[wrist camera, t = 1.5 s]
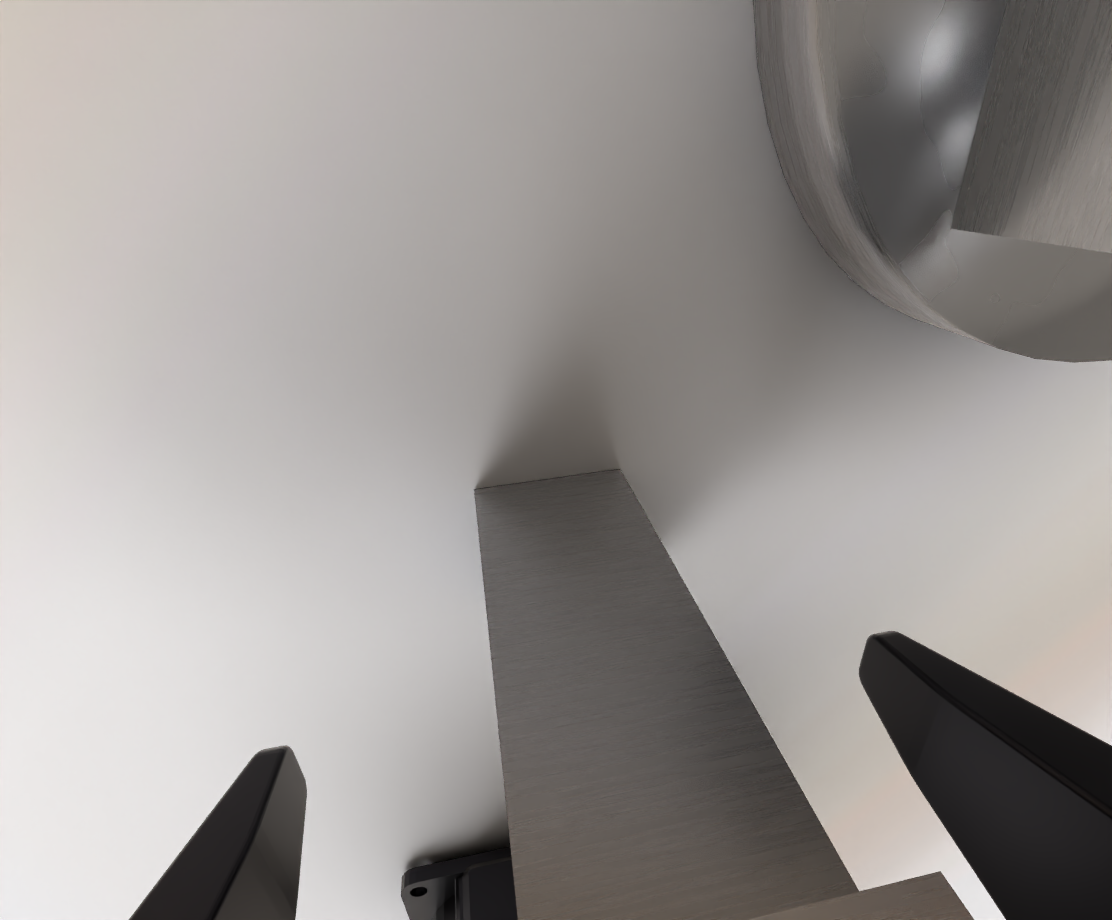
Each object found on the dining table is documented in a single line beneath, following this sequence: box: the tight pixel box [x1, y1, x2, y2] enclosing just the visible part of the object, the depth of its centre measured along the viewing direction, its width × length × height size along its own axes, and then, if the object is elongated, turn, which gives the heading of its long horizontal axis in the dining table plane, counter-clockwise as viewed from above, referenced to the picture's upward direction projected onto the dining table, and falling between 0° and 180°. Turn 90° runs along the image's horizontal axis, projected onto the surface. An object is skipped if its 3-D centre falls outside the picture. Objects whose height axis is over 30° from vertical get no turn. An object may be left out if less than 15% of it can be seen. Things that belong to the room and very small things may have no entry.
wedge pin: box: [474, 469, 974, 920], centre depth 8 cm, size 4×4×9 cm
